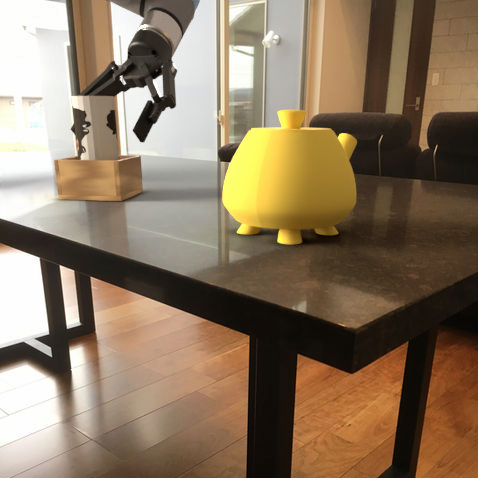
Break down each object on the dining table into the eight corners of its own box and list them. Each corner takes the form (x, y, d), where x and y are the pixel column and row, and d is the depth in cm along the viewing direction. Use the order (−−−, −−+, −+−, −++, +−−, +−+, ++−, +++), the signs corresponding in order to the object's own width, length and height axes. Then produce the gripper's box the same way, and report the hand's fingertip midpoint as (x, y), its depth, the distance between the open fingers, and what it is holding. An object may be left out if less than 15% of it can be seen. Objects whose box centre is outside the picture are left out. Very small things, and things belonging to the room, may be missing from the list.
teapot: (303, 211, 76) (308, 109, 70) (398, 227, 65) (412, 109, 60) (196, 231, 63) (192, 109, 58) (293, 255, 52) (299, 109, 47)
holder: (58, 199, 86) (53, 159, 83) (86, 190, 96) (82, 154, 93) (121, 201, 84) (118, 160, 82) (143, 191, 94) (140, 155, 92)
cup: (124, 187, 93) (116, 96, 87) (119, 193, 87) (110, 95, 81) (85, 188, 93) (75, 96, 87) (78, 193, 86) (66, 95, 81)
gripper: (220, 60, 93) (176, 153, 86) (112, 65, 103) (66, 148, 97) (204, 22, 86) (155, 119, 80) (90, 32, 97) (39, 118, 90)
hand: (106, 135), depth 88 cm, fingers open, 13 cm apart
